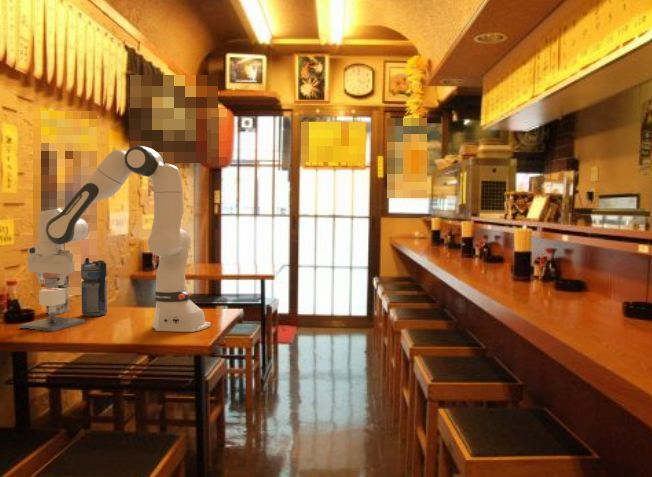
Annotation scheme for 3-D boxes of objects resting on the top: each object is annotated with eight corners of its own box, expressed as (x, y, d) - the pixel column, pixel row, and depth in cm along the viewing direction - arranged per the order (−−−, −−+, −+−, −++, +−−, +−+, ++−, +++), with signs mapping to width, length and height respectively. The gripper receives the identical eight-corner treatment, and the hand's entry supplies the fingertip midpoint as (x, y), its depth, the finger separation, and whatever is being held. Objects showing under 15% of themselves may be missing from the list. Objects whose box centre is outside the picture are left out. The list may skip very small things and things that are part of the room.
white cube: (65, 303, 199) (65, 287, 198) (52, 306, 193) (51, 290, 192) (52, 302, 201) (52, 287, 200) (39, 305, 194) (38, 289, 194)
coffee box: (61, 314, 220) (60, 278, 219) (45, 314, 219) (45, 278, 218) (69, 310, 229) (68, 275, 228) (55, 310, 228) (54, 275, 227)
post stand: (84, 322, 202) (84, 294, 202) (52, 331, 187) (51, 301, 186) (53, 320, 207) (53, 292, 206) (19, 328, 192) (18, 299, 191)
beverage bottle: (95, 318, 210) (93, 260, 209) (75, 315, 217) (74, 258, 215) (115, 314, 219) (114, 258, 218) (96, 311, 225) (95, 256, 224)
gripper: (78, 250, 195) (78, 284, 196) (37, 248, 201) (38, 281, 202) (65, 251, 189) (66, 287, 190) (24, 249, 195) (24, 283, 196)
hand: (51, 284), depth 196 cm, fingers open, 8 cm apart
